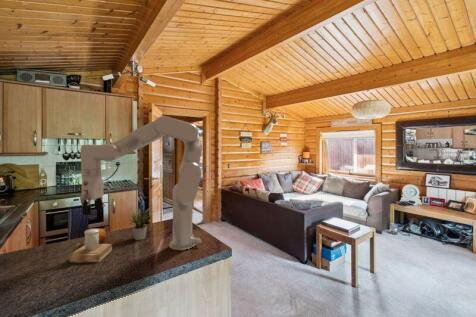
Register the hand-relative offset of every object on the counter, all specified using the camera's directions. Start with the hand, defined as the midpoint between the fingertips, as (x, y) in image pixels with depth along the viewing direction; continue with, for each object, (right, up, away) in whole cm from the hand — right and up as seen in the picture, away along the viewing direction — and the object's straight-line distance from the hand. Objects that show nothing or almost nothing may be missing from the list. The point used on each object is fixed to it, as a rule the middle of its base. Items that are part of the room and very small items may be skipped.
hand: (93, 211), depth 109 cm
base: (-1, -20, +1) cm, 20 cm away
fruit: (-7, -20, +15) cm, 26 cm away
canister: (-1, -17, +1) cm, 17 cm away
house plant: (+13, -19, +24) cm, 33 cm away
